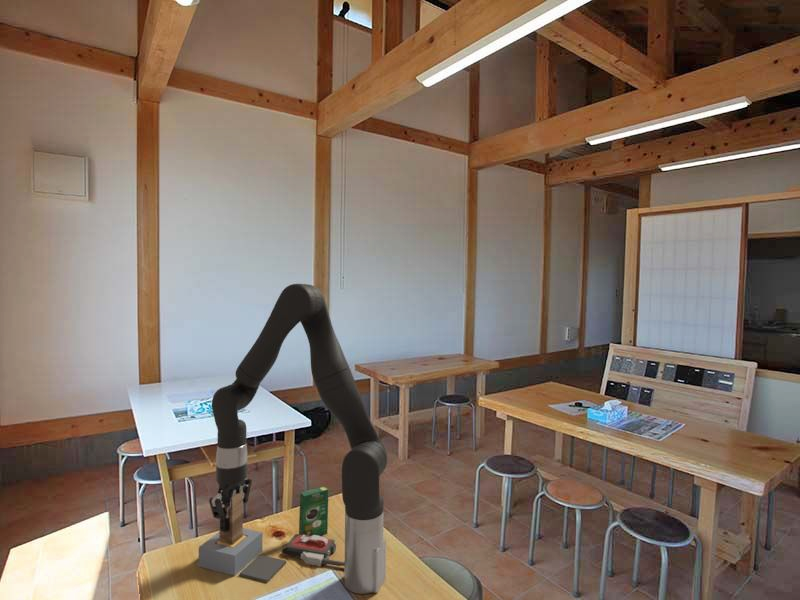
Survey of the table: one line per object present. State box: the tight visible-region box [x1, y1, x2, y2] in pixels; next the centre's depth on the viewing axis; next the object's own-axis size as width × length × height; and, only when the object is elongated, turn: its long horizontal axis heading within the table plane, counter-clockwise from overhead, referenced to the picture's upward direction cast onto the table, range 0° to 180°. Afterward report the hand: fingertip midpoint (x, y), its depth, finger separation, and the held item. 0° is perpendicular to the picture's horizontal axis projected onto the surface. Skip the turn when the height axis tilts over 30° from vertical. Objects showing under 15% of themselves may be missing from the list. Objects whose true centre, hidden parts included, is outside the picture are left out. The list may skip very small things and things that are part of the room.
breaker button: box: [216, 535, 246, 548], centre depth 114 cm, size 5×5×4 cm
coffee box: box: [298, 486, 330, 537], centre depth 124 cm, size 8×3×13 cm, turn 128°
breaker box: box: [198, 527, 264, 577], centre depth 114 cm, size 11×11×5 cm
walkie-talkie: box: [281, 533, 345, 568], centre depth 115 cm, size 9×4×20 cm
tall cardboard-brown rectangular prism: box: [218, 491, 244, 545], centre depth 113 cm, size 4×4×12 cm
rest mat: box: [239, 554, 287, 583], centre depth 109 cm, size 8×8×1 cm
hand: (231, 526), depth 113 cm, fingers closed on tall cardboard-brown rectangular prism, 4 cm apart
